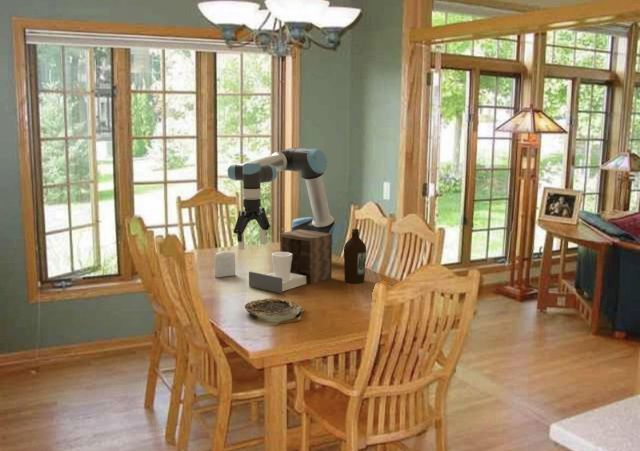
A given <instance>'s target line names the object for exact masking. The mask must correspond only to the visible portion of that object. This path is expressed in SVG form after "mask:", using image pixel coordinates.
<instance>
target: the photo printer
mask: <svg viewBox="0 0 640 451" xmlns="http://www.w3.org/2000/svg"><path fill="white" fill-rule="evenodd" d="M234 276H236V254H235V252H234V251H232V250H222V251H219V252H216V253H215V254H214V277H215V278H223V277H234Z"/></svg>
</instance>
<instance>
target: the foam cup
mask: <svg viewBox="0 0 640 451" xmlns="http://www.w3.org/2000/svg"><path fill="white" fill-rule="evenodd" d="M271 261H272V268H273V269H272V270H273V272H274V277H279V278H282V282H286V281H289V277H290V270H291V262H292V253H289V252H280V251H278V252H272V253H271Z"/></svg>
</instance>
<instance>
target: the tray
mask: <svg viewBox="0 0 640 451" xmlns="http://www.w3.org/2000/svg"><path fill="white" fill-rule="evenodd" d="M306 284H307V275H303V274H300V273H296V274H294V273H290V277H289V281H286V282H282V278H279V277H274V271H273V272H271V273H268V274H265V273H260V272H255V271H248V287H251V288H255V289H261V290H264V291H267V292H272V293H277V294H283V292H284V291H287V290H288V291H289V290H292V289H294V288H297V287H300V286H304V285H306Z"/></svg>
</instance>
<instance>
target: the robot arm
mask: <svg viewBox="0 0 640 451" xmlns="http://www.w3.org/2000/svg"><path fill="white" fill-rule="evenodd" d="M327 160H328V159H327V156H326V154H325V152H324V151H322V150H321V149H319V148H313V147H312V148H306V147H302V148H301V147H291V148H286V149H282V150H279V151H275V152H273V153H272V154H271V155H269V156H264V157H262V158H261V157H259V158H257V159H254V160H250V161H249V160H248V161H247V162H241V163H238V162H237V163H231V164H230V165H228V168H227V176H228V178H229V179H230V180H232V181H236V182H237V181H241V182H242V197H243V199H242V206H243V208H244V209H243V210H238V216H237V220H236V223H235V226H234V229H233V233H234V234H236V235H237V239H236V240H237V244H238V246H237V248H238V250H245V234H244V232H245V229H246V228H247V226H248V224H249V222H251V221H254V220H255V221H256V222H257V224H258V225H259V227H260V229H259V232H260V233H259V237H260V238H259V240H260V241H259V242H260V243H259V244H260V245H267V234H268V233H267V231H269V228H271V225H270V221H269V219H268V217H267V213H266V208H265V207H262V206H261V205H262V204H261V203H262V201H261V197H262V196H261V195H262V194H261V191H262V190H261V188H262V187H261V184H263V183H270V182H273V181H274V180H275V179H276V178H277V176H278V172H282V171H289V172H299V173H300V176H301V178H302V179H303V180H304V181H305V185H306V190H307V193H308V194H307V195H308V198H309V204H310V207H311V211H312V217H311V216H307V217H305V216H304V217H297V218H294V219H293V220H292V222H291V231H294V230H299V229H302V230H309V231H316V232H322V233H329V234H332V246H333V245H335V244H336V243H337V242H338V240H339V238H340V234H341V225H340V223H338V222H335V219H334V216H332V215H331V213H330V209H329V204H328V198H327V193H326V189H325V185H324V180H323V176H324V174H325V172H326V169H327V166H328V165H327V164H328V161H327Z"/></svg>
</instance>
